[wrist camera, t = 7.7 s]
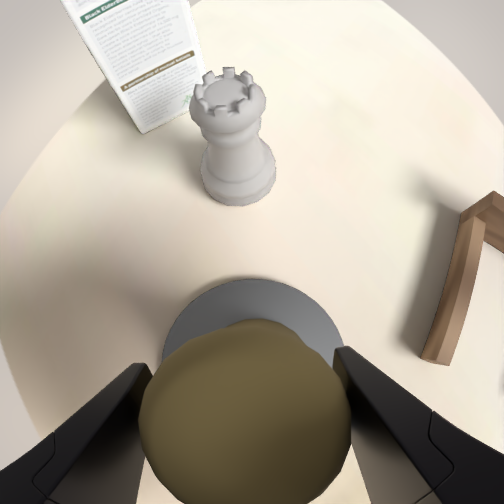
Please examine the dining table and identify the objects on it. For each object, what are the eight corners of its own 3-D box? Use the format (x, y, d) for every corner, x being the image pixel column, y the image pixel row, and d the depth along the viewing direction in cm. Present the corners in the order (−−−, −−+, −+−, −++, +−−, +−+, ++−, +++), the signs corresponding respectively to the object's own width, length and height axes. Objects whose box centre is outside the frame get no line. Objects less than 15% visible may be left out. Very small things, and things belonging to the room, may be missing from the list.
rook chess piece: (223, 222, 19) (196, 151, 11) (191, 165, 20) (155, 80, 12) (290, 188, 19) (303, 102, 11) (253, 134, 20) (247, 41, 12)
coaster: (322, 463, 15) (324, 466, 15) (152, 430, 16) (149, 432, 15) (358, 297, 17) (361, 296, 17) (183, 265, 18) (181, 263, 18)
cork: (306, 430, 15) (356, 555, 4) (195, 419, 16) (104, 524, 5) (319, 322, 16) (406, 315, 6) (205, 312, 17) (110, 286, 6)
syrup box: (215, 100, 21) (175, -90, 7) (139, 138, 20) (40, -32, 6) (186, 59, 22) (143, -96, 8) (119, 91, 22) (42, -51, 7)
